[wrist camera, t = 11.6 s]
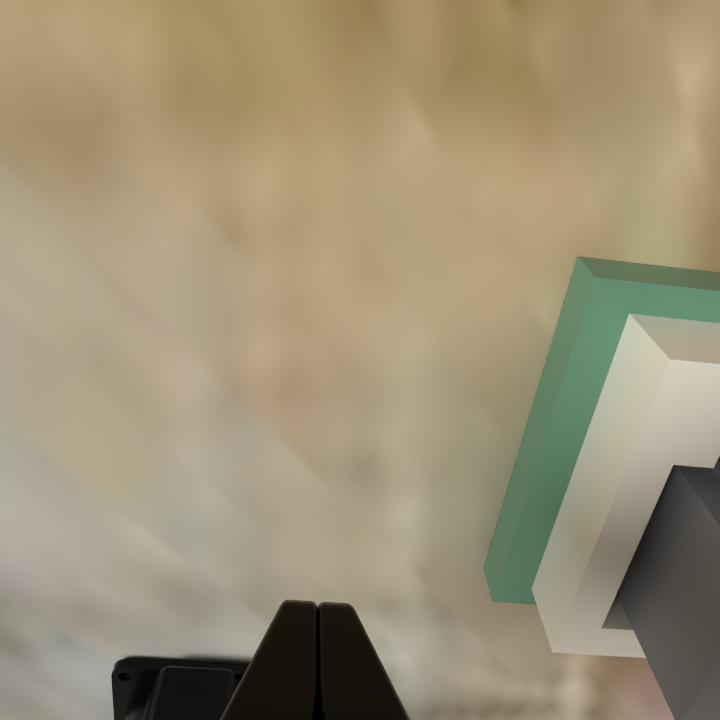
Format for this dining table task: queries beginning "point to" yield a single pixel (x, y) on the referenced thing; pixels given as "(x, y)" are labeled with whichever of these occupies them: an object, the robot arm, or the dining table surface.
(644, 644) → the plug
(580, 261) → the board
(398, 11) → the dining table surface
